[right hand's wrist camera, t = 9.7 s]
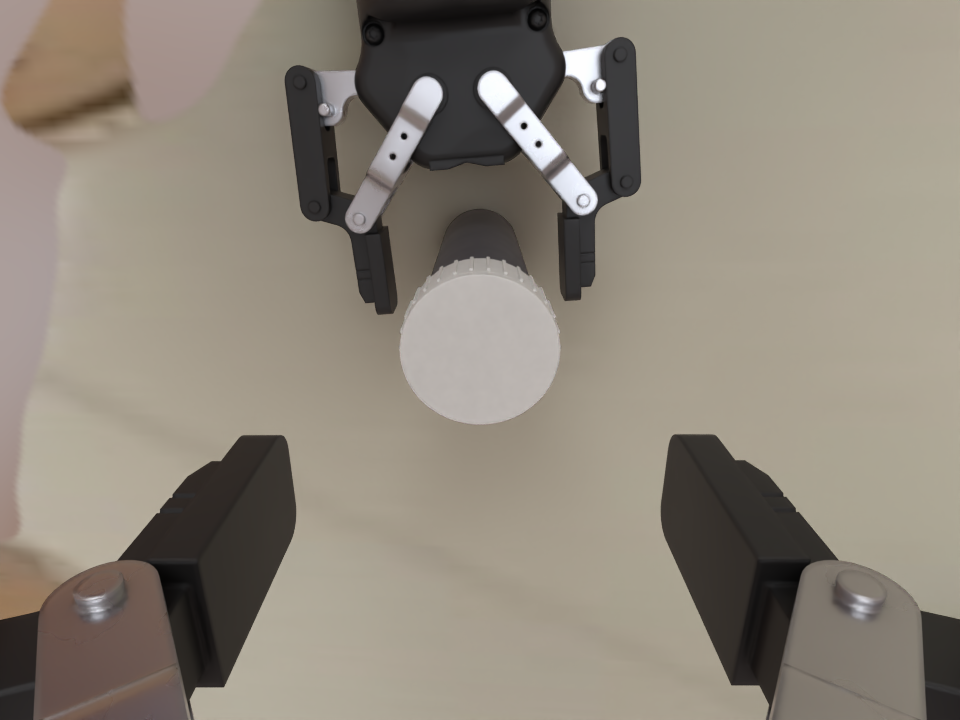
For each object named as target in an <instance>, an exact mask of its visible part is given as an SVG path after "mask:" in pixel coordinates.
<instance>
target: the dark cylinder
mask: <svg viewBox="0 0 960 720" xmlns="http://www.w3.org/2000/svg"><path fill="white" fill-rule="evenodd" d="M470 257H474V258H486V257H490V259H494V260H498V261H502V260H505V261H506V263H508V264H510V265H512V266H514V267H517V266H519V267H520V269H521V271H523V272H524V273H525V274H527V275H528V272H527V269H526V266H525V263H524V260H523V257H522V254H521V251H520V247H519V244H518V241H517V238H516V235H515V233H514V230H513V228H512V227H511V225H510V224H509V223H508V221H507V220H506V219H505V218H503V217H502V216H501V215H499V214H497V213H495V212H493V211H489V210H484V209H476V210H470V211H467V212H465V213H463V214H461V215H459V216H458V217H457V218H455V219H454V220H453V221H452V223H451V224H450V225H449V227H448V228H447V230H446V233H445V235H444V238H443V241H442V244H441V247H440V251H439V254H438V257H437V260H436V263H435V266H434V269H433V272H432V275H433V274H435V273H436V272H437V271H439V268H440V267H441V266H443V267H446V266H448V265H450V264H452V263H454V261H455V260H458V261H462V260H466V259H470ZM432 275H431V276H432ZM528 276H529V275H528Z"/></svg>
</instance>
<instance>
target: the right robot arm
mask: <svg viewBox="0 0 960 720" xmlns="http://www.w3.org/2000/svg"><path fill="white" fill-rule="evenodd" d="M661 522H662V529H663V533H664V536H665V539H666V541H667V543H668V545H669V548H670V550H671V552H672V554H673V557H674V559H675V561H676V563H677V565H678V568H679V570H680V572H681V574H682V577H683V579H684V581H685V583H686V585H687V588H688V590H689V592H690V594H691V596H692V599H693V601H694V603H695V605H696V608H697V610H698V612H699V614H700V616H701V619H702V621H703V623H704V625H705V628H706V630H707V632H708V634H709V636H710V639H711V641H712V643H713V645H714V648H715V650H716V652H717V654H718V656H719V659H720V661H721V663H722V665H723V667H724V670H725V672H726V674H727V676H728V679H729V681H730V683H731V685H760V687H761V689H762V691H763V693H764V695H765V697H766V699H767V701H768V703H769V708H768V712H767V716H766V720H960V619H956V618H951V617H947V616H942V615H937V614H933V613H928V612H924V611H920V609H919V607H918V605H917V603H916V602H915V600H914V599H913V598H912V596H911V595H910V594H909V593H908V592H907V591H906V590H905V589H903V588H902V587H901V586H900V585H898V584H897V583H896V582H894V581H893V580H891V579H890V578H888V577H886V576H884V575H882V574H881V573H879V572H876V571H874V570H872V569H870V568H867V567H864V566H861V565H858V564H854V563H851V562H845V561H839V560H838V559H837V558H836V556H835V555H834V554H833V553H832V552H831V550H830V549H829V548H828V547H827V545H826V544H825V543H824V542H823V541H822V539H821V538H820V537H819V536H818V535H817V533H816V532H815V531H814V530H813V529H812V527H811V526H810V525H809V524H808V523H807V521H806V520H805V519H804V518H803V517H802V515H801V514H800V513H799V512H796V508H795V507H794V506H793V504H792V503H791V502H790V501H789V500H788V498H787V497H784V496H783V492H782V491H781V490H780V489H779V488H778V486H777V485H776V484H775V483H774V482H773V480H772V479H771V478H770V477H769V476H768V475H767V474H765V473H764V472H762V471H761V470H759V469H757V468H756V467H754V466H753V465H751V464H750V463H748V462H747V461H745V460H735V459H734V458H733V457H732V455H731V454H730V453H729V452H728V450H727V449H726V448H725V446H724V445H723V444H722V442H721V441H720V440H719V439H718V437H717V436H715V435H712V434H675V435H673V436H672V437H671V440H670V443H669V447H668V455H667V462H666V470H665V478H664V485H663V493H662V500H661ZM295 523H296V502H295V494H294V487H293V479H292V472H291V464H290V457H289V449H288V444H287V441H286V439H285V437H284V436H282V435H243V436H241V437H240V438H239V439H238V440H237V441H236V443H235V444H234V445H233V446H232V448H231V449H230V450H229V452H228V453H227V454H226V456H225V457H224V458H223V459H222V461H211V462H210V463H208V464H207V465H205V466H203V467H202V468H200V469H199V470H197V471H196V472H194V473H193V474H191V475H189V476H188V477H187V478H186V479H185V480H184V482H183V483H182V484H181V485H180V486H179V487H178V489H177V490H176V491H175V492H174V493H173V497H172V498H169V499H168V501H167V502H166V503H165V504H164V505H163V507H162V508H161V509H160V513H157V514H156V515H155V516H154V517H153V519H152V520H151V521H150V522H149V523H148V525H147V526H146V527H145V528H144V529H143V531H142V532H141V533H140V534H139V535H138V536H137V538H136V539H135V540H134V541H133V542H132V544H131V545H130V546H129V547H128V548H127V550H126V551H125V552H124V553H123V554H122V556H121V557H120V558H119V559H118V560H117V561H115V562H109V563H106V564H102V565H99V566H96V567H93V568H90V569H88V570H86V571H84V572H81V573H79V574H77V575H76V576H74V577H72V578H70V579H69V580H67V581H66V582H64V583H63V584H62V585H60V586H59V587H58V588H57V589H55V590H54V591H53V592H52V593H51V594H50V595H49V596H48V598H47V599H46V600H45V602H44V603H43V605H42V607H41V609H40V611H38V612H34V613H30V614H26V615H21V616H17V617H12V618H8V619H3V620H0V720H194V716H193V712H192V708H191V704H190V698H191V696H192V694H193V692H194V690H195V688H196V687H224V686H225V684H226V682H227V680H228V677H229V675H230V673H231V671H232V669H233V666H234V664H235V662H236V660H237V658H238V656H239V653H240V651H241V649H242V647H243V645H244V642H245V640H246V638H247V636H248V634H249V631H250V629H251V627H252V625H253V623H254V621H255V618H256V616H257V614H258V612H259V610H260V607H261V605H262V603H263V601H264V599H265V596H266V594H267V592H268V590H269V588H270V586H271V583H272V581H273V579H274V577H275V575H276V572H277V570H278V568H279V566H280V564H281V562H282V559H283V557H284V555H285V553H286V551H287V548H288V546H289V544H290V542H291V539H292V537H293V534H294V529H295Z"/></svg>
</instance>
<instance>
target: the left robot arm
mask: <svg viewBox="0 0 960 720" xmlns="http://www.w3.org/2000/svg"><path fill="white" fill-rule="evenodd" d="M357 8H358V15H359V22H360V30H361V39H362V47H361V55H360V59H359V63H358V65H357V68H356V70H342V71H316V70H313V69H310V68H307V67H304V66H300V65H296V66H293V67H291V68H290V69H289V70H288V71H287V73H286V75H285V88H286V96H287V104H288V112H289V120H290V127H291V135H292V143H293V151H294V159H295V167H296V175H297V183H298V191H299V199H300V207H301V211H302V213H303V215H304V216H305V217H306V218H307V219H309V220H311V221H324V222H328V223H331V224H335V225H338V226H340V227H342V228H344V229H345V230H346V231H347V232H348V234H349V236H350V238H351V242H352V248H353V255H354V261H355V267H356V274H357V279H358V286H359V293H360V294H361V296H362V298H363V300H364V301H365V303H374V302H375V308H376V312H377V314H378V315H381V314H393V313H394V311H395V309H396V307H397V291H396V283H395V276H394V268H393V261H392V253H391V246H390V239H389V231H388V226H382V220H381V217H382V216H383V214H384V212H385V210H386V209H387V207H388V205H389V203H390V202H391V200H392V198H393V196H394V195H395V193H396V191H397V189H398V188H399V186H400V185H401V183H402V182H403V180H404V178H405V177H406V175H407V173H408V171H409V170H410V168H411V166H412V164H413V163H414V162H415V163H416V164H418V165H420V166H422V167H424V168H428V169H430V171H434V170H446V169H450V168H453V167H456V166H458V165H461V164H464V163H473V164H478V165H483V166H493V165H505V162H508V161H510V160H512V159H513V158H515V157H516V156H517V155H518V154H519V153H520V152H522V153H523V154H524V155H525V157H526V158H527V159H528V160H529V161H530V163H531V164H532V165H533V166H534V168H535V169H536V170H537V171H538V172H539V173H540V174H541V176H542V177H543V178H544V179H545V180H546V182H547V183H548V184H549V185H550V187H551V188H552V189H553V190H554V191H555V193H556V194H557V195H558V196H559V198H560V199H561V200H562V213H557V214H558V245H559V275H560V290H561V294H562V296H563V298H564V300H565V301H573V300H580V299H581V287H589V286H591V285H592V282H593V280H594V277H595V217H596V214H597V212H598V211H599V209H600V208H601V207H602V206H604V205H605V204H607V203H609V202H612V201H614V200H616V199H618V198H621V197H628V196H631V195H633V194H635V193H636V192H637V190H638V189H639V187H640V184H641V167H640V144H639V120H638V96H637V72H636V51H635V47H634V45H633V43H632V42H631V41H630V40H629V39H627V38H624V37H618V38H615V39H613V40H611V41H609V42H607V43H606V44H604V45H601V46H595V47H589V48H582V49H576V50H570V51H563V52H562V50H561V48H560V46H559V44H558V43H557V41H556V38H555V36H554V32H553V28H552V22H551V0H357ZM564 78H569V79H571V80H573V81H574V82H575V83H576V84H577V86H578V88H579V92H580V95H581V97H582V99H583V100H584V101H586V102H587V103H592V104H593V103H596V110H597V125H598V141H599V156H600V171H598V172H596V173H594V174H591V175H589V176H587V177H585V178H584V177H583V176H582V174H581V173H580V172H579V171H578V169H577V168H576V167H575V166H574V164H573V163H572V162H571V160H570V159H569V157H568V156H567V154H566V153H565V152H564V150H563V149H562V148H561V146H560V145H559V144H558V143H557V141H556V140H555V139H554V138H553V136H552V135H551V134H550V133H549V131H548V130H547V129H546V128H545V126H544V125H543V124H542V123H541V121H540V120H541V118H542V117H543V115H544V113H545V112H546V110H547V108H548V107H549V105H550V103H551V102H552V100H553V98H554V97H555V95H556V93H557V92H558V90H559V88H560V87H561V85H562V83H563V81H564ZM355 97H359V99H360V100H361V102H362V103H363V104H364V105H365V106H366V108H367V109H368V110H369V111H370V112H371V113H372V115H373V116H374V117H375V118H376V119H377V120H378V122H379V123H380V124H381V125H382V126H383V128H384V129H385V130H386V131H387V132H388V134H387V136H386V137H385V139H384V141H383V143H382V145H381V147H380V148H379V150H378V152H377V154H376V156H375V158H374V159H373V161H372V163H371V165H370V167H369V169H368V171H367V173H366V177H365V179H364V181H363V183H362V184H361V186H360V188H359V190H358V192H357V194H356V195H355V196H354V195H350V194H347V193H343V192H341V191H340V181H339V171H338V161H337V151H336V141H335V131H334V126H338V125H340V124H342V123H343V122H344V121H345V119H346V117H347V109H348V105H349V103H350V101H351V100H352V99H353V98H355Z"/></svg>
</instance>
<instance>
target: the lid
mask: <svg viewBox="0 0 960 720" xmlns="http://www.w3.org/2000/svg"><path fill="white" fill-rule="evenodd" d="M404 318H405V319H404V322H403V324H402V327H401V329H400V334H401V338H400V345H399V349H400V360H401V365H402V369H403V372H404V375H405V378H406V380H407V382H408V384H409V386H410V387H411V389H412V390H413V392H414V393H415V394H416V396H417V397H418V398H419V399H420V400H421V401H422V402H423V403H424V404H425V405H427V406H428V407H429V408H430V409H432V410H433V411H435V412H436V413H438V414H440V415H442V416H444V417H446V418H448V419H451V420H454V421H456V422H461V423H465V424H474V425H487V424H495V423H499V422H503V421H507V420H509V419H512V418H514V417H516V416H518V415H520V414H522V413H524V412H525V411H527V410H528V409H530V408H531V407H532V406H533V405H535V404H536V403H537V402H538V401H539V400H540V399H541V398H542V397H543V395H544V394H545V393H546V392H547V390H548V389H549V387H550V386H551V384H552V382H553V380H554V377H555V375H556V372H557V369H558V365H559V360H560V349H561V345H560V339H559V334H560V330H559V327H558V324H557V322H556V319H555V318H556V316H555V314H554V311H553V309H552V306H551V304H550V301H549V300H547V298H546V296H545V293H544V290H543V288H542V287H540V288H539V287H538V286H537V284H536V283H535V282H534V279H533V277H532V276H531V275H530V276H528V275H527V274H525V273H524V272H523V271H521V269H520V267H519V266H517V267H514V266H512V265H510V264H508V263H506V261H505V260H502V261H498V260H494V259H490V257H486V258H474V257H470V259H466V260H462V261H458V260H455V261H454V263H452V264H450V265H448V266H446V267H443V266H441V267H440V268H439V271H437V272H436V273H435V274H433V275H432V276H430V275H429V276H428V277H427V279H426V282H425V283H424V284H423V286H422V287H421V288H420V287H418V288H417V290H416V293H415V296H414V298H413V300H411V301H410V303H409V306H408V308H407V311H406V313H405V316H404Z"/></svg>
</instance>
